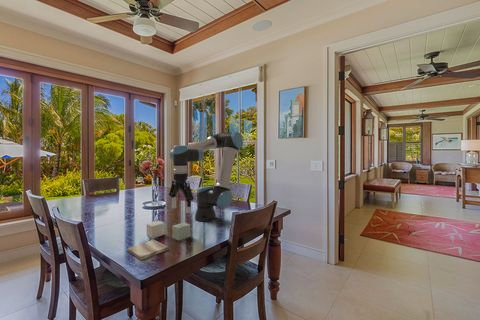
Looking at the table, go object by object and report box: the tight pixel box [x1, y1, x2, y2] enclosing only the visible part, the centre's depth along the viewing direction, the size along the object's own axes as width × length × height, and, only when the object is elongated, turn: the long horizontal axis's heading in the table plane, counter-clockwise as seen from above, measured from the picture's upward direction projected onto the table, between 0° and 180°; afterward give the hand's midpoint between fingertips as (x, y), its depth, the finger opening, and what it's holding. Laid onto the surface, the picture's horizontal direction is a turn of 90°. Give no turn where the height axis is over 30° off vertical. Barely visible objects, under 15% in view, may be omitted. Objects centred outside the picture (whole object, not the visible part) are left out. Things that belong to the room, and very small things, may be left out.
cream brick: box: [146, 220, 166, 239], centre depth 135 cm, size 8×6×7 cm
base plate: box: [126, 239, 169, 261], centre depth 115 cm, size 14×14×2 cm
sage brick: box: [171, 221, 191, 241], centre depth 132 cm, size 8×6×7 cm
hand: (180, 210), depth 131 cm, fingers open, 13 cm apart
